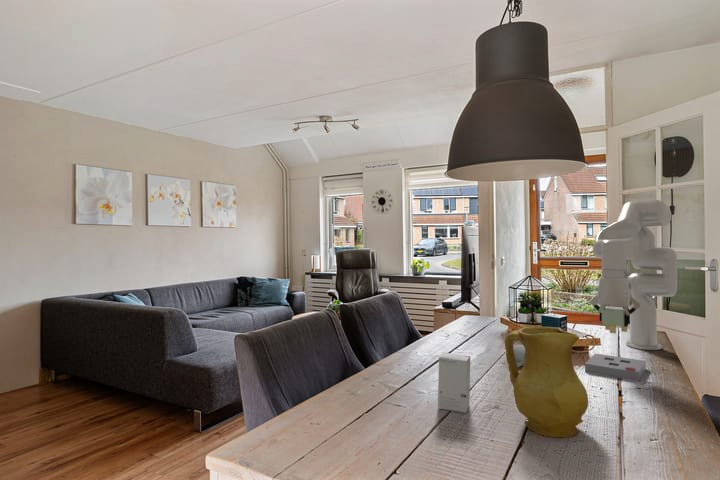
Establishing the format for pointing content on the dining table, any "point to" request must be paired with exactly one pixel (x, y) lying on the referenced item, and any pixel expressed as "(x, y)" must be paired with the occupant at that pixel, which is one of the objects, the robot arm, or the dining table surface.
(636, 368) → the socket plate
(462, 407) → the skincare box
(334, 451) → the dining table surface
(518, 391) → the pitcher
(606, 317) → the plug
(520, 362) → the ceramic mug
